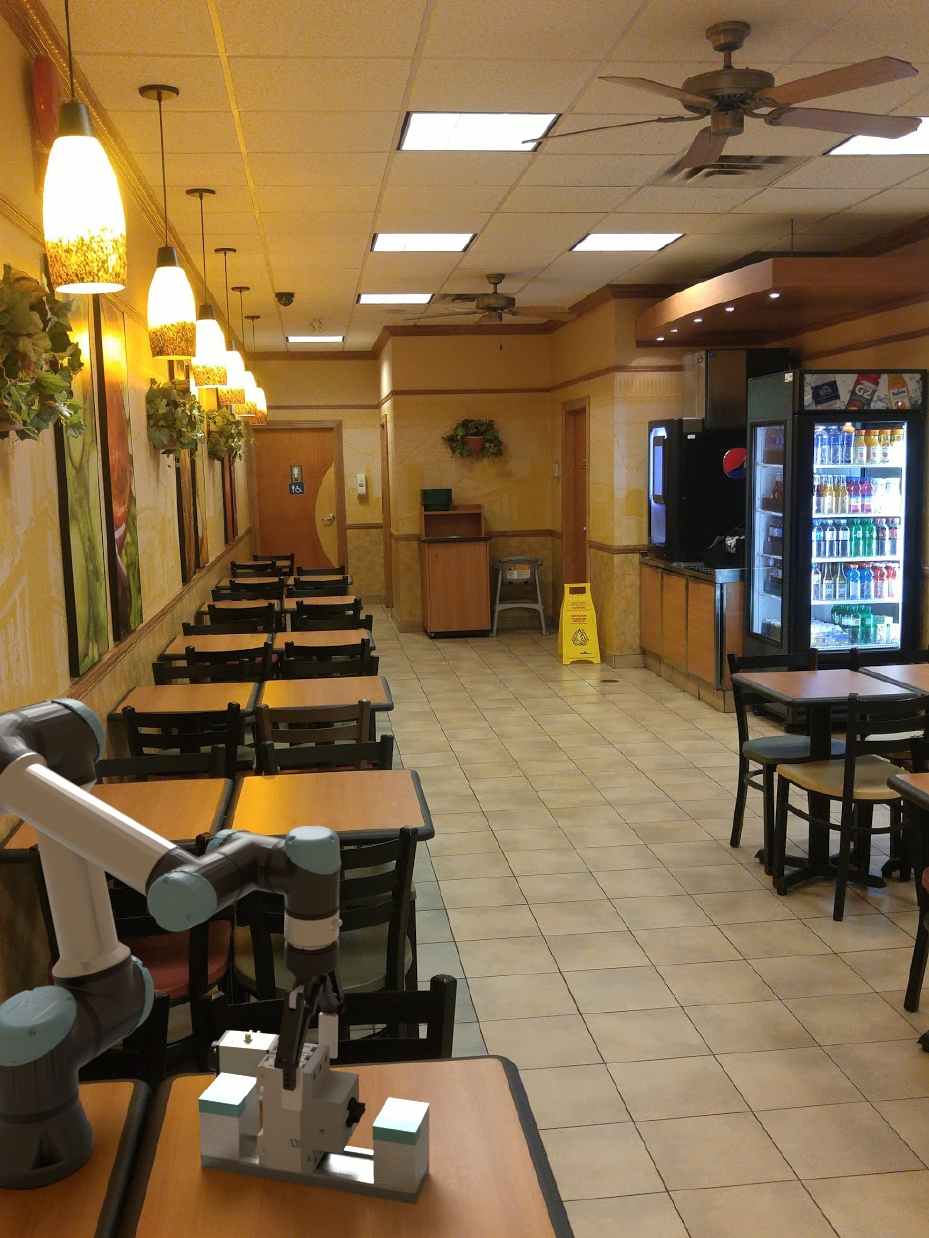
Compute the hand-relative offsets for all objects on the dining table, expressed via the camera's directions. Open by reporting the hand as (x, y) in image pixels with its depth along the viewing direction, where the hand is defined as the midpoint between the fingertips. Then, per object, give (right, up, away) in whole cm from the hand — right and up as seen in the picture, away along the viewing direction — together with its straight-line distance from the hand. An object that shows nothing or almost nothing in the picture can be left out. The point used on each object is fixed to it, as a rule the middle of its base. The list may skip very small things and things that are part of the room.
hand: (310, 1081), depth 154 cm
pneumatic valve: (-12, -11, +18) cm, 24 cm away
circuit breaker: (0, -12, +1) cm, 12 cm away
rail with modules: (0, -13, +2) cm, 13 cm away
